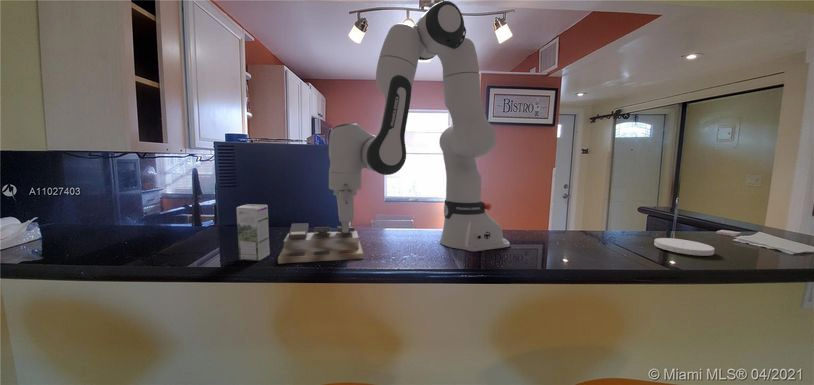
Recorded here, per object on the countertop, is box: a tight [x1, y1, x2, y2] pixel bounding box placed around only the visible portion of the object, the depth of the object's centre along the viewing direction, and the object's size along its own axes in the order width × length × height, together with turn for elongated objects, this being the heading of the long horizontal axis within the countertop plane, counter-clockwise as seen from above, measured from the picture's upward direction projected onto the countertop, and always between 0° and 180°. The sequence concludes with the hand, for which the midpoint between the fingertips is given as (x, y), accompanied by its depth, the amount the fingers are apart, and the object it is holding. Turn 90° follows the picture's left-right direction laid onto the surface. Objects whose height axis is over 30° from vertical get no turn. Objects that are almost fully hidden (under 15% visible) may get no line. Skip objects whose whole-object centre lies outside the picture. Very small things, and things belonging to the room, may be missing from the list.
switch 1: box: [288, 222, 309, 239], centre depth 87 cm, size 5×7×1 cm, turn 13°
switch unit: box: [277, 230, 364, 264], centre depth 87 cm, size 22×12×6 cm, turn 103°
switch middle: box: [312, 226, 332, 233], centre depth 88 cm, size 5×7×1 cm, turn 13°
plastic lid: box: [653, 237, 716, 257], centre depth 96 cm, size 14×14×2 cm
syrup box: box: [236, 203, 271, 262], centre depth 83 cm, size 6×6×14 cm
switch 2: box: [336, 225, 355, 232], centre depth 90 cm, size 5×7×1 cm, turn 13°
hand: (345, 231), depth 86 cm, fingers closed
